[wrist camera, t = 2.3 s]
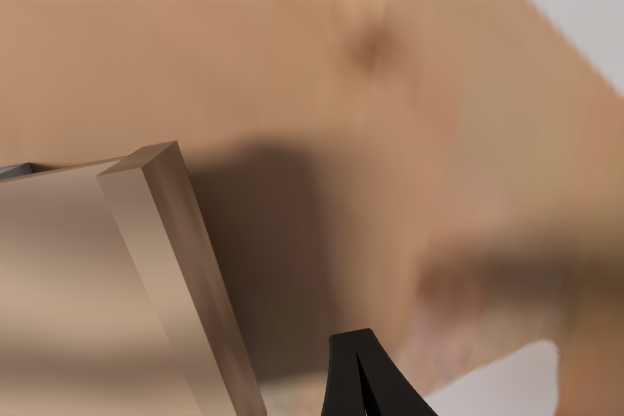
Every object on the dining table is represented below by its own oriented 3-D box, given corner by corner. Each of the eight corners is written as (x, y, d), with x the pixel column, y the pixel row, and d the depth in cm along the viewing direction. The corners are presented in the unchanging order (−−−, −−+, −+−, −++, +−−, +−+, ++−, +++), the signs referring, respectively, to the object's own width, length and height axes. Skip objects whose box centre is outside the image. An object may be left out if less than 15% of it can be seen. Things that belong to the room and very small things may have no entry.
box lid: (267, 412, 18) (264, 486, 15) (-33, 472, 18) (-100, 561, 14) (176, 140, 12) (140, 167, 9) (-269, 224, 12) (-464, 282, 9)
